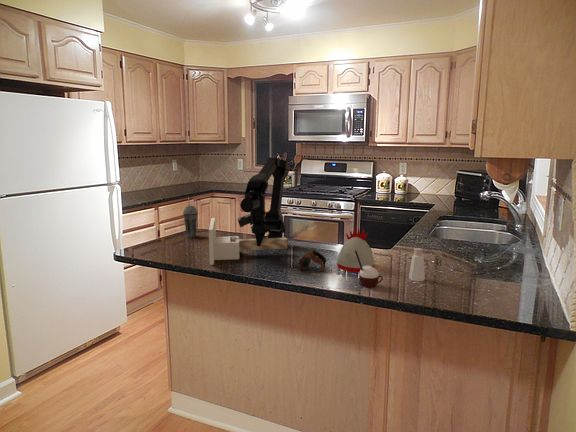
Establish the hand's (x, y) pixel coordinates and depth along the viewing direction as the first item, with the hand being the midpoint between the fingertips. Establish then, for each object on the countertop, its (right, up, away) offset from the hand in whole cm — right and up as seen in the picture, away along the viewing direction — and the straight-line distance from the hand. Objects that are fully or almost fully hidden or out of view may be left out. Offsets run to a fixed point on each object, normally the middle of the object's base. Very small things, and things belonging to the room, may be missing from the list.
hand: (258, 245), depth 176 cm
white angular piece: (-13, -4, -1) cm, 14 cm away
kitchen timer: (+38, -7, -15) cm, 42 cm away
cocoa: (+39, -11, -36) cm, 54 cm away
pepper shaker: (+58, -10, -29) cm, 65 cm away
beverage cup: (-36, +2, +34) cm, 49 cm away
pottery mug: (+21, -8, -20) cm, 30 cm away
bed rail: (+1, -1, 0) cm, 2 cm away
